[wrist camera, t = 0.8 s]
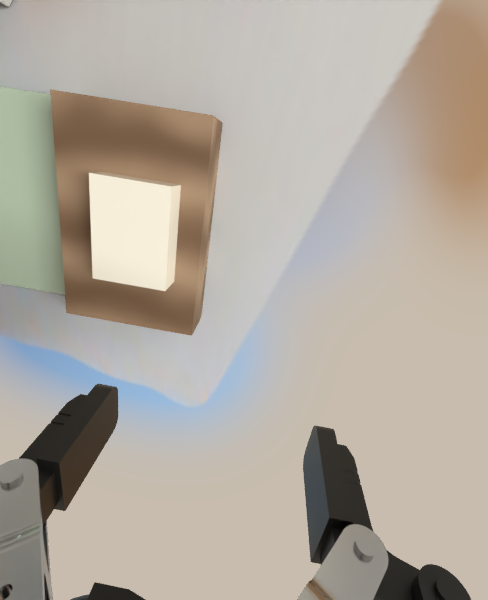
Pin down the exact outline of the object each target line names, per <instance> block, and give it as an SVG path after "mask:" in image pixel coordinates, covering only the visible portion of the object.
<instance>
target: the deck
mask: <svg viewBox="0 0 488 600" xmlns="http://www.w3.org/2000/svg"><path fill="white" fill-rule="evenodd" d="M50 93H51V107H52V121H53V134H54V148H55V162H56V175H57V189H58V203H59V217H60V230H61V244H62V258H63V272H64V285H65V299H66V313H70V314H76V315H81V316H87V317H92V318H98V319H103V320H109V321H115V322H120V323H126V324H131V325H137V326H142V327H148V328H153V329H159V330H164V331H170V332H175V333H181V334H186V335H192V334H193V332H194V330H195V328H196V326H197V324H198V322H199V320H200V318H201V314H202V305H203V296H204V287H205V278H206V268H207V259H208V250H209V241H210V232H211V223H212V214H213V205H214V195H215V186H216V177H217V168H218V159H219V150H220V141H221V132H222V122H221V121H219V120H218V119H217V118H216V117H215V116H212V115H206V114H200V113H194V112H187V111H181V110H175V109H169V108H162V107H156V106H150V105H144V104H137V103H131V102H125V101H119V100H112V99H106V98H100V97H94V96H87V95H81V94H75V93H69V92H62V91H56V90H50ZM98 172H106V173H112V174H118V175H124V176H130V177H136V178H142V179H148V180H154V181H160V182H166V183H172V184H178V185H181V191H180V205H179V220H178V234H177V249H176V263H175V277H174V282H173V283H172V284H171V286H170V287H169V288H168V289H167V290H166V291H161V290H156V289H150V288H144V287H139V286H133V285H127V284H122V283H116V282H110V281H105V280H99V279H93V276H92V249H91V221H90V193H89V173H98Z"/></svg>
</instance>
